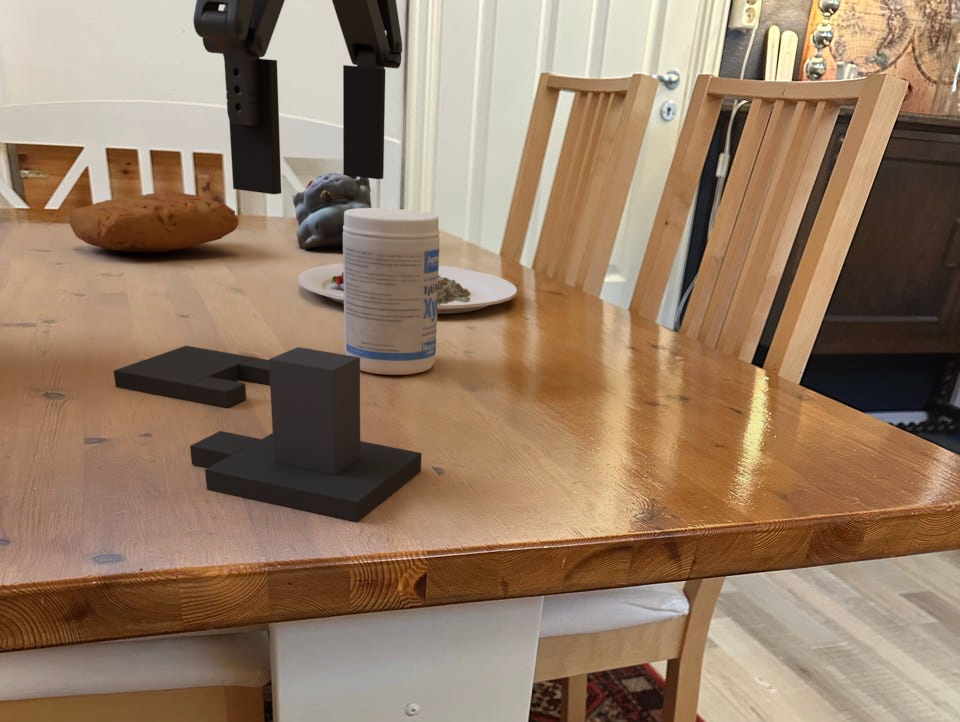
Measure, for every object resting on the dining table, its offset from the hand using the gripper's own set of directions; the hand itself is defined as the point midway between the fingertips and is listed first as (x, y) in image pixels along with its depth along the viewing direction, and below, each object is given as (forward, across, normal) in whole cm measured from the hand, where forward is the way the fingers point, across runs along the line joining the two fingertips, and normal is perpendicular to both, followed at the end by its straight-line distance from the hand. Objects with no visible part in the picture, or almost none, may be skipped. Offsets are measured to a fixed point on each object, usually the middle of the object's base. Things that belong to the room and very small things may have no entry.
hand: (315, 184), depth 59 cm
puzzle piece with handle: (+20, 0, +2) cm, 20 cm away
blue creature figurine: (+21, +95, +49) cm, 109 cm away
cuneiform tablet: (+21, +71, +67) cm, 100 cm away
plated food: (+20, +66, +22) cm, 73 cm away
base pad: (+20, +17, +21) cm, 34 cm away
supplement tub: (+20, +32, +9) cm, 39 cm away
